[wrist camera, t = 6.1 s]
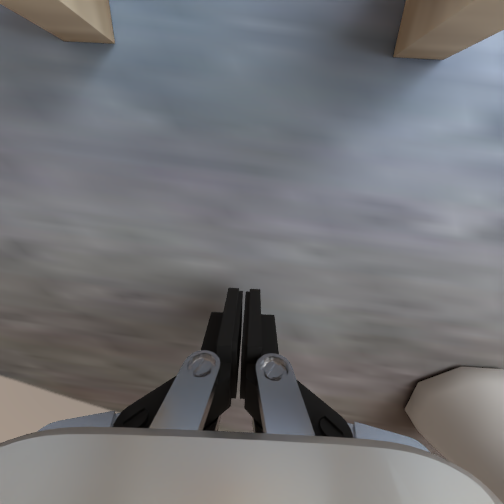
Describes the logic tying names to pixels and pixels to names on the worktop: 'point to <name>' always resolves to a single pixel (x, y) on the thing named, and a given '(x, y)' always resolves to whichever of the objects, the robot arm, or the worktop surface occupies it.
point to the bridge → (407, 46)
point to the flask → (464, 420)
